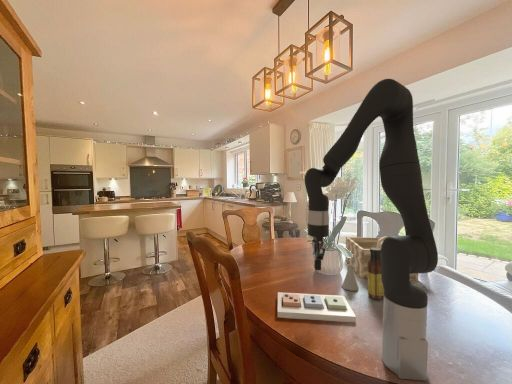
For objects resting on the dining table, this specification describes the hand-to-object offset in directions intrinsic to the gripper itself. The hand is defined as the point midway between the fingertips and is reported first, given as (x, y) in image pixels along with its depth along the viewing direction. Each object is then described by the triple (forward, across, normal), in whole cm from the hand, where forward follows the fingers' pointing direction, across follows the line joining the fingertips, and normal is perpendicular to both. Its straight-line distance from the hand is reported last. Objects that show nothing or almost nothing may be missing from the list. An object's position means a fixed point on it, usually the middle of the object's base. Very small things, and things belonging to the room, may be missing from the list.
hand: (317, 269), depth 83 cm
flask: (+15, +18, -18) cm, 30 cm away
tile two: (+14, 0, +2) cm, 14 cm away
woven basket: (+14, +43, -40) cm, 61 cm away
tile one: (+14, 0, -6) cm, 16 cm away
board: (+15, 0, +2) cm, 15 cm away
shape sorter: (+14, +41, -42) cm, 61 cm away
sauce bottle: (+15, +11, -26) cm, 32 cm away
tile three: (+14, 0, +10) cm, 17 cm away
